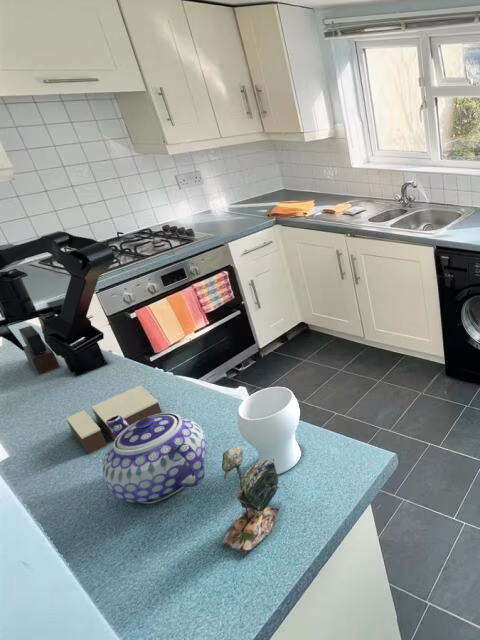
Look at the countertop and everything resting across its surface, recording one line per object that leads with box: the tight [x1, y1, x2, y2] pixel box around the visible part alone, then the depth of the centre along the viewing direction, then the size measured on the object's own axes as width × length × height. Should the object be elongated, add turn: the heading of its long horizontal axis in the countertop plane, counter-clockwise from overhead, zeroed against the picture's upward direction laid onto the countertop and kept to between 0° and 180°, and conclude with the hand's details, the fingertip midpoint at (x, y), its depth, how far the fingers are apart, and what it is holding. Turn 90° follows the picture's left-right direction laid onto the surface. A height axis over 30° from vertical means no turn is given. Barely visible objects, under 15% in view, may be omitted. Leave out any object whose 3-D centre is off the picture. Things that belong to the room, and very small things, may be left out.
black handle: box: [18, 325, 47, 355], centre depth 115 cm, size 2×8×10 cm, turn 57°
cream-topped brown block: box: [65, 409, 108, 454], centre depth 92 cm, size 3×10×4 cm, turn 57°
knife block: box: [23, 341, 61, 375], centre depth 116 cm, size 4×10×5 cm, turn 57°
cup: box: [236, 386, 302, 475], centre depth 85 cm, size 11×11×15 cm
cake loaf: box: [91, 385, 163, 442], centre depth 97 cm, size 9×10×4 cm
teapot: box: [102, 412, 208, 504], centre depth 81 cm, size 25×15×15 cm, turn 66°
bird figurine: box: [221, 445, 280, 555], centre depth 72 cm, size 8×11×20 cm
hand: (35, 345), depth 114 cm, fingers open, 4 cm apart
